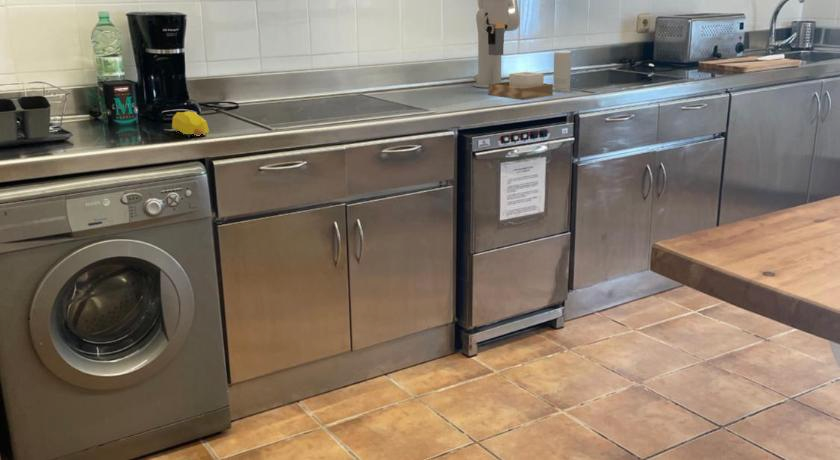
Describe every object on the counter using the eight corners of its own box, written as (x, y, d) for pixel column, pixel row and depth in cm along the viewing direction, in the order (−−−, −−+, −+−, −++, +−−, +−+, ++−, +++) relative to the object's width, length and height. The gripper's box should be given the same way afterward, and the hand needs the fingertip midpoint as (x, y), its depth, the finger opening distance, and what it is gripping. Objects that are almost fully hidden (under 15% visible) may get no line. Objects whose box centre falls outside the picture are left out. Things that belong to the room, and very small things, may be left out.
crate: (488, 96, 313) (488, 84, 312) (517, 91, 323) (518, 80, 321) (523, 101, 300) (523, 88, 298) (552, 96, 309) (552, 84, 308)
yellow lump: (194, 128, 258) (169, 131, 254) (192, 107, 256) (167, 109, 252) (212, 137, 244) (187, 140, 240) (210, 115, 241) (184, 118, 238)
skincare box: (569, 93, 317) (571, 52, 312) (552, 93, 318) (553, 52, 313) (570, 90, 324) (571, 50, 320) (553, 90, 326) (554, 50, 321)
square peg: (488, 54, 314) (488, 22, 311) (496, 53, 317) (496, 21, 313) (495, 55, 311) (496, 22, 307) (503, 54, 314) (504, 22, 310)
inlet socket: (509, 95, 311) (509, 73, 308) (525, 92, 316) (526, 71, 314) (526, 97, 304) (527, 75, 302) (543, 95, 310) (543, 73, 307)
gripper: (505, -7, 315) (504, 41, 321) (473, -6, 305) (473, 44, 311) (519, -7, 309) (518, 42, 315) (487, -6, 299) (486, 45, 305)
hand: (495, 43), depth 313 cm, fingers closed on square peg, 4 cm apart
